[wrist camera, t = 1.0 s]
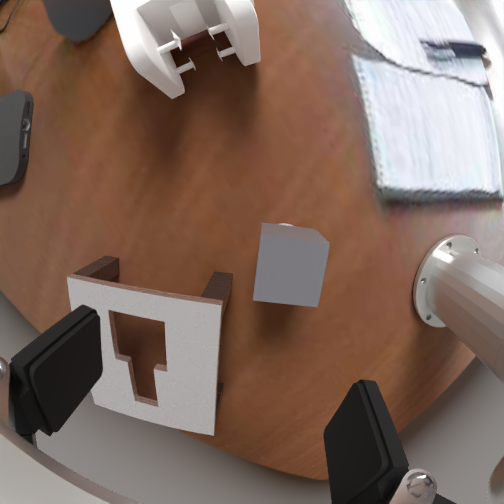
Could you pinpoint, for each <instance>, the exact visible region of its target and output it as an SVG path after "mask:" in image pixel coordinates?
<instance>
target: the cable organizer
mask: <svg viewBox="0 0 504 504" xmlns="http://www.w3.org/2000/svg"><path fill="white" fill-rule="evenodd" d="M110 2H111V6H112V9H113V13H114V16H115V20H116V23H117V27H118V30H119V33H120V36H121V40H122V43H123V46H124V49H125V52H126V54H127V57H128V59H129V61H130V62H131V64H132V66H133V67H134V68H135V70H136V71H137V72H138V73H139V74H140V75H141V76H143V77H144V78H145V79H147V80H148V81H149V82H151V83H152V84H153V85H155V86H156V87H157V88H158V89H160V90H161V91H162V92H164V93H165V94H166V95H167V96H169V97H170V98H171V99H174V98H176V97H178V96H180V95H182V94H184V93H185V90H184V85H183V82H182V79H181V77H180V73H182V72H184V71H187V70H189V69H191V68H193V67H194V69H195V70H196V68H195V65H194V63H193V62H192V61H191V59H190V58H189V59H190V62H189V63H187V64H185V65H182V66H180V67H178V68H177V67H176V65H175V62H174V60H173V57H172V55H171V53H170V50H172V49H174V48H176V47H179V48H180V50H181V49H182V47H181V40H183V39H186V38H188V37H190V36H192V35H195V34H197V33H200V32H202V31H205V30H207V29H208V32H209V34H210V35H211V37H212V38H213V36H212V35H214V34H217V33H219V32H222V31H224V32H225V34H226V36H227V38H228V39H229V41H230V43H231V45H232V47H231V48H228V49H225V50H222V51H220V52H218V50H217V53H218V56H219V57H220V59H221V60H222V57H225V56H227V55H230V54H233V53H236V55H237V57H238V58H239V60H240V61H241V63H242V64H243V65H244V66H248V65H251V64H254V63H257V62H260V43H259V27H258V18H257V15H256V12H255V9H254V7H253V6H254V0H110ZM213 40H214V38H213ZM216 49H217V48H216ZM222 61H223V60H222Z"/></svg>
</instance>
